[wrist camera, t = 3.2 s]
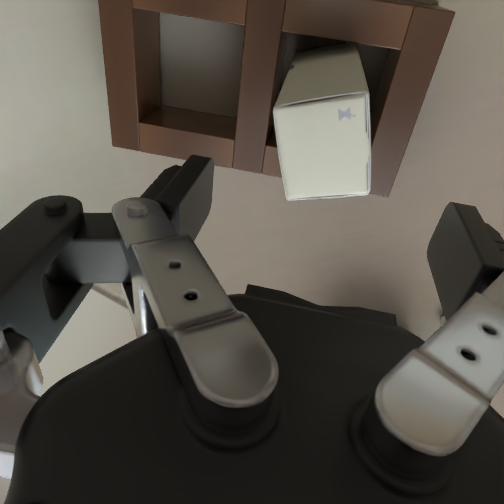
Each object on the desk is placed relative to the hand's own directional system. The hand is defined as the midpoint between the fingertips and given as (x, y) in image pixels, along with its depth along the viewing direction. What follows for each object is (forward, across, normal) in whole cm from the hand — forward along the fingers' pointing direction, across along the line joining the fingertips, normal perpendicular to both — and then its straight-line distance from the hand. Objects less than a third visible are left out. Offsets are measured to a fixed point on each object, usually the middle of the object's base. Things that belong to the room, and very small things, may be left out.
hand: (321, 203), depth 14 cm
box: (+19, 0, 0) cm, 19 cm away
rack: (+18, +5, 0) cm, 19 cm away
